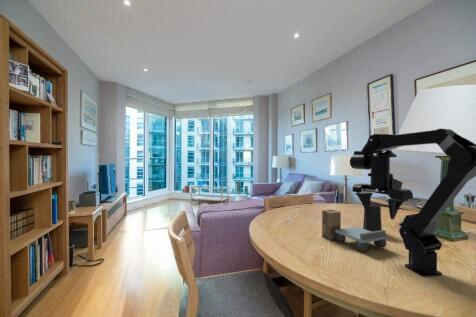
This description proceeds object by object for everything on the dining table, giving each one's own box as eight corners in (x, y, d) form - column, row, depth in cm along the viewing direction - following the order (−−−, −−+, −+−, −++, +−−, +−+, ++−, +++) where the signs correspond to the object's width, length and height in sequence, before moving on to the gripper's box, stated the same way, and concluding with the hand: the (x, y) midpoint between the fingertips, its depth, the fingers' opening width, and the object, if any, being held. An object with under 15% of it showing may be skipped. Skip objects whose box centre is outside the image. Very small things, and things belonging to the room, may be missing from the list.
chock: (340, 239, 99) (340, 212, 99) (330, 240, 97) (330, 213, 97) (331, 235, 104) (331, 209, 104) (322, 236, 102) (322, 210, 102)
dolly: (386, 249, 89) (386, 231, 88) (364, 253, 85) (364, 235, 84) (355, 237, 102) (355, 221, 101) (334, 240, 98) (334, 224, 97)
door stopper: (382, 236, 102) (382, 207, 102) (365, 235, 104) (366, 206, 104) (378, 230, 110) (378, 203, 110) (363, 229, 112) (363, 202, 112)
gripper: (424, 171, 79) (424, 220, 79) (373, 168, 96) (372, 208, 96) (400, 172, 74) (400, 224, 75) (351, 169, 92) (351, 210, 92)
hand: (379, 215), depth 85 cm, fingers open, 9 cm apart
